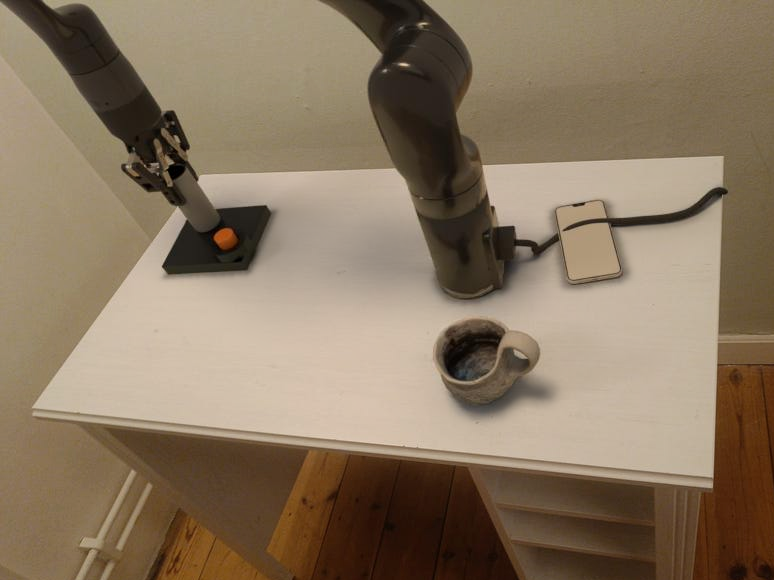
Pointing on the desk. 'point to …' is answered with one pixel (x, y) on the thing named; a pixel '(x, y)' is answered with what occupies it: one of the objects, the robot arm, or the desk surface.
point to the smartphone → (587, 243)
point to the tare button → (226, 239)
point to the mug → (482, 358)
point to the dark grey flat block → (205, 254)
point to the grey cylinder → (193, 199)
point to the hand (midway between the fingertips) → (186, 192)
